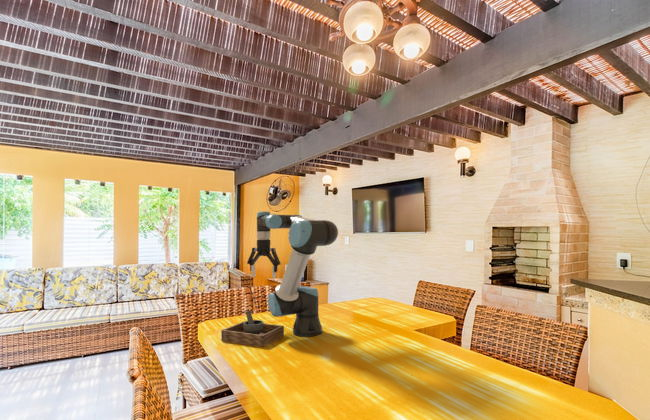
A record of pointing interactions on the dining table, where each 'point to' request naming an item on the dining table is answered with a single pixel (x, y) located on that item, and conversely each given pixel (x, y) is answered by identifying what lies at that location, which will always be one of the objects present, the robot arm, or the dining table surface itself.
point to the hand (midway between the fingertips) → (263, 277)
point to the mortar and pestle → (252, 324)
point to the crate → (252, 335)
